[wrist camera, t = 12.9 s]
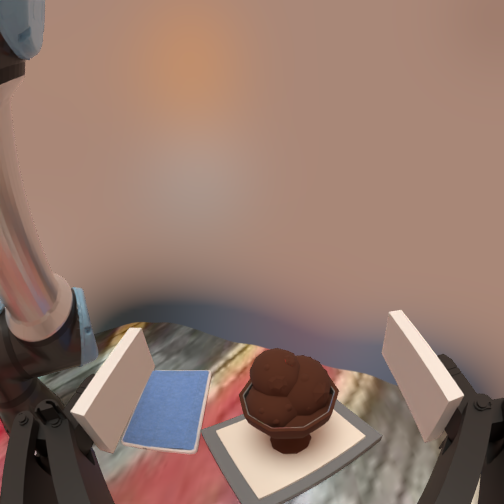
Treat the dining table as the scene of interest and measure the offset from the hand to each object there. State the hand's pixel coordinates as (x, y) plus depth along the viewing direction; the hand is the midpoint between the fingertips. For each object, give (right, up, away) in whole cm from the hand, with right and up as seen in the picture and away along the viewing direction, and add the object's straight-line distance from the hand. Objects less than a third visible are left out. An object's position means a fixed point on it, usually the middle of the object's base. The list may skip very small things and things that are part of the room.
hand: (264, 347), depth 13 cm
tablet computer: (-14, -22, +26) cm, 37 cm away
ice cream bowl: (+4, -20, +16) cm, 26 cm away
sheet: (+4, -20, +17) cm, 27 cm away
